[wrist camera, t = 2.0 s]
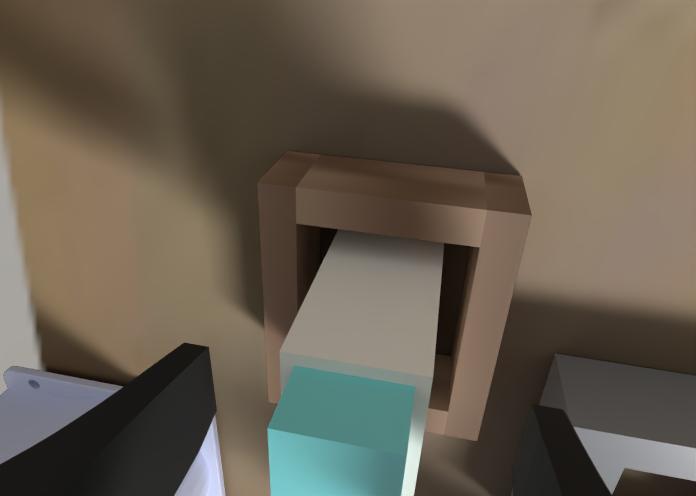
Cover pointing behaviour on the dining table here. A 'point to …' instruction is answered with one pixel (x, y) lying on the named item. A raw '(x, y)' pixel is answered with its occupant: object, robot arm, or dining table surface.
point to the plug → (358, 371)
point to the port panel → (627, 415)
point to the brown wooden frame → (408, 222)
